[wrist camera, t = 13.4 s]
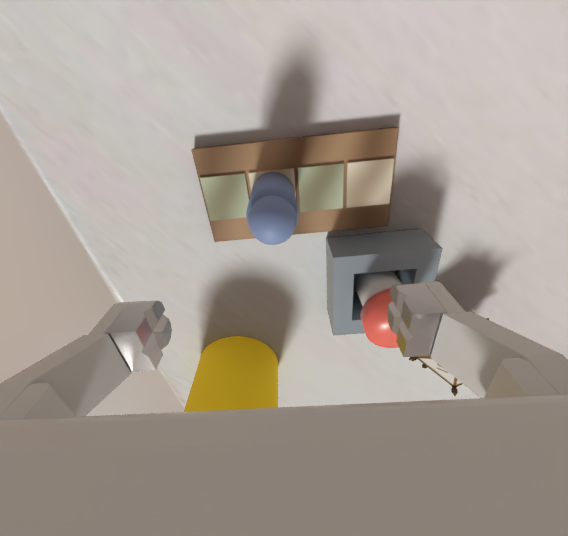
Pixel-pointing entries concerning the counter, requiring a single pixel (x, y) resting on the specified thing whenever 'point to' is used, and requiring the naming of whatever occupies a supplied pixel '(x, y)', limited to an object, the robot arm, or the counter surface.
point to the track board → (303, 180)
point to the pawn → (272, 208)
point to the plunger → (376, 305)
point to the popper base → (374, 268)
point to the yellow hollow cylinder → (235, 376)
